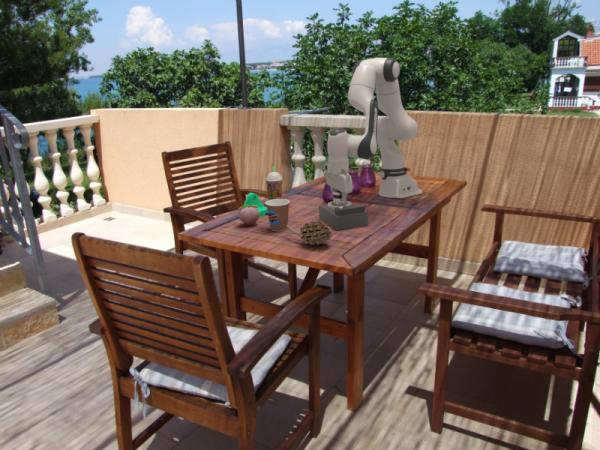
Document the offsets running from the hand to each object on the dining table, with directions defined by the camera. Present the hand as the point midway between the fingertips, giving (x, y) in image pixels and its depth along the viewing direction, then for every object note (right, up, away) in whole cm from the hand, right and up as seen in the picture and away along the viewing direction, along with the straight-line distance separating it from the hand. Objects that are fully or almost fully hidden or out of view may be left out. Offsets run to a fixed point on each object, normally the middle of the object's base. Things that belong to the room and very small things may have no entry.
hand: (339, 199), depth 227 cm
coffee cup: (-26, -13, -5) cm, 30 cm away
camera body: (+1, -10, 0) cm, 10 cm away
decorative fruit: (-40, -12, +3) cm, 41 cm away
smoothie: (-29, -2, +31) cm, 42 cm away
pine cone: (-14, -19, -24) cm, 34 cm away
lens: (0, -6, +2) cm, 7 cm away
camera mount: (-38, -7, +18) cm, 42 cm away
